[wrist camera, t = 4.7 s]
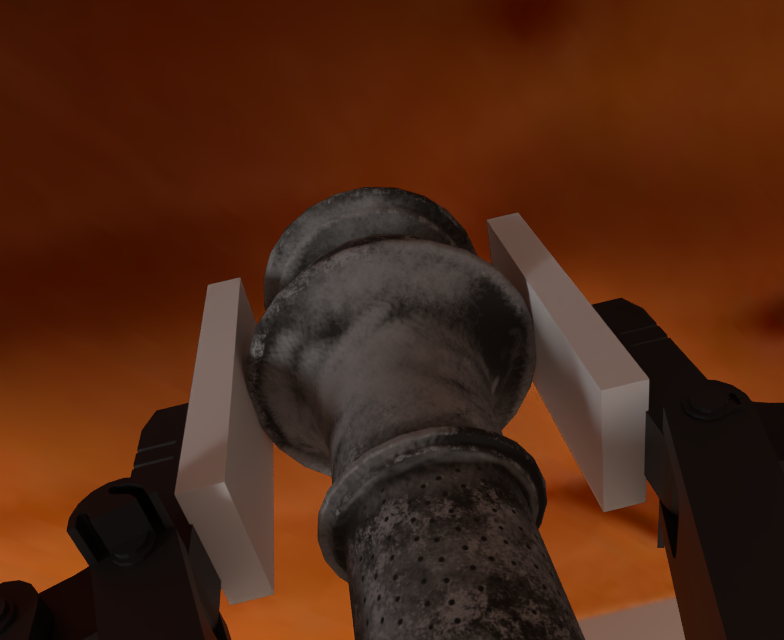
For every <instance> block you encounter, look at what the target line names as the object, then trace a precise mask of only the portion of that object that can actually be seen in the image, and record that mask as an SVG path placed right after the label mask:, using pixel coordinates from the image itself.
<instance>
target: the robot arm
mask: <svg viewBox="0 0 784 640" xmlns="http://www.w3.org/2000/svg"><path fill="white" fill-rule="evenodd" d="M487 229H488V237H489V246H490V254H491V263H492V265H493V266H495V267H497V268H498V269H499V270H500V271H501V272H502V274H503V275H504V276H505V277H506V278H507V279H508V280H509V281H510V282H511V283H512V285H513V286H514V287H515V288H516V289H517V290H518V291H519V292H520V293H521V295H522V297H523V299H524V302H525V304H526V306H527V308H528V311H529V313H530V315H531V317H532V320H533V324H534V333H535V345H536V365H535V370H534V374H533V379H532V381H533V383H534V385H535V387H536V388H537V390H538V392H539V394H540V396H541V398H542V399H543V401H544V403H545V405H546V407H547V409H548V411H549V412H550V414H551V416H552V418H553V420H554V422H555V423H556V425H557V427H558V429H559V431H560V433H561V434H562V436H563V438H564V440H565V442H566V444H567V446H568V447H569V449H570V451H571V453H572V455H573V457H574V458H575V460H576V462H577V464H578V466H579V468H580V470H581V471H582V473H583V475H584V477H585V479H586V481H587V482H588V484H589V486H590V488H591V490H592V492H593V493H594V495H595V497H596V499H597V501H598V503H599V505H600V506H601V508H602V510H603V512H606V511H610V510H614V509H619V508H623V507H627V506H631V505H635V504H639V503H643V502H646V478H647V480H648V482H649V483H650V485H651V486H652V488H653V489H654V491H655V492H656V494H657V495H658V497H659V499H660V500H659V523H658V546H657V548H664V545H665V549H666V553H667V558H668V563H669V567H670V572H671V576H672V581H673V585H674V590H675V594H676V599H677V603H678V608H679V612H680V616H681V621H682V626H683V631H684V635H685V639H686V640H784V403H763V402H753V401H751V400H750V399H749V397H748V396H747V395H746V394H745V393H744V392H742V391H741V390H739V389H737V388H736V387H734V386H733V385H730V384H727V383H723V382H720V381H717V380H707V378H706V377H705V376H704V375H703V374H702V373H701V372H700V371H699V370H698V368H697V367H696V366H695V365H694V364H693V363H692V362H691V361H690V360H689V359H688V357H687V356H686V355H685V354H684V353H683V352H682V351H681V350H680V349H679V348H678V346H677V345H676V344H675V343H674V342H673V341H672V340H671V339H670V338H669V339H668V337H667V334H666V333H665V332H664V331H663V330H662V329H661V328H660V327H659V326H657V325H656V322H655V321H654V320H653V319H652V318H651V317H650V316H649V315H648V313H647V312H646V311H645V310H644V309H643V308H641V307H639V306H637V305H635V304H633V303H631V302H629V301H627V300H625V299H623V298H618V299H614V300H610V301H606V302H601V303H597V304H593V305H591V304H590V303H589V302H588V301H587V299H586V298H585V297H584V295H583V294H582V293H581V292H580V290H579V289H578V288H577V287H576V285H575V284H574V283H573V281H572V280H571V279H570V278H569V276H568V275H567V274H566V273H565V271H564V270H563V269H562V268H561V266H560V265H559V264H558V262H557V261H556V260H555V259H554V257H553V256H552V255H551V254H550V252H549V251H548V250H547V248H546V247H545V246H544V245H543V243H542V242H541V241H540V240H539V238H538V237H537V236H536V235H535V233H534V232H533V231H532V229H531V228H530V227H529V226H528V224H527V223H526V222H525V221H524V219H523V218H522V217H521V215H520V214H519V213H513V214H509V215H505V216H501V217H496V218H492V219H488V220H487ZM256 326H257V324H256V321H255V318H254V315H253V313H252V310H251V307H250V304H249V301H248V298H247V295H246V292H245V289H244V287H243V284H242V281H241V278H235V279H231V280H227V281H223V282H218V283H214V284H210V285H208V287H207V294H206V300H205V306H204V312H203V319H202V325H201V331H200V337H199V344H198V350H197V356H196V362H195V369H194V375H193V381H192V387H191V394H190V400H189V403H186V404H182V405H178V406H174V407H169V408H165V409H161V410H157V411H156V412H155V413H154V415H153V416H152V417H151V419H150V420H149V421H148V423H147V424H146V425H145V427H144V428H143V429H142V432H141V436H140V440H139V445H138V449H137V450H138V453H137V454H136V457H135V461H134V465H133V466H134V470H132V474H131V478H122V479H119V480H116V481H112V482H109V483H107V484H105V485H103V486H101V487H100V488H98V489H96V490H94V491H93V492H91V493H90V494H89V495H88V496H87V497H86V498H85V499H83V500H82V501H81V502H80V503H79V504H78V505H77V507H76V508H75V510H74V511H73V513H72V514H71V516H70V517H69V521H68V526H67V532H68V534H69V536H70V537H71V539H72V540H73V542H74V543H75V545H76V546H77V548H78V549H79V551H80V552H81V554H82V555H83V557H84V558H85V560H86V561H87V563H88V565H89V566H88V567H87V568H86V569H84V570H82V571H81V572H79V573H77V574H76V575H74V576H72V577H70V578H68V579H66V580H64V581H62V582H60V583H58V584H56V585H54V586H53V587H51V588H49V589H47V590H45V591H43V592H41V593H39V594H38V592H37V591H36V590H35V588H34V587H33V586H32V584H30V583H27V582H23V581H20V580H18V581H10V582H3V583H1V584H0V640H231V637H230V634H229V631H228V627H227V625H226V623H225V621H224V619H223V617H222V615H221V614H220V612H219V605H220V591H221V587H222V589H223V591H224V593H225V595H226V597H227V599H228V601H229V603H230V605H233V604H237V603H241V602H245V601H249V600H253V599H257V598H261V597H265V596H269V595H273V594H274V506H273V441H272V439H271V438H270V437H269V436H268V435H267V433H266V432H265V431H264V430H263V428H262V427H261V425H260V422H259V420H258V417H257V414H256V412H255V409H254V407H253V404H252V401H251V399H250V396H249V393H248V389H247V366H246V360H247V356H248V353H249V349H250V346H251V342H252V339H253V335H254V332H255V328H256Z"/></svg>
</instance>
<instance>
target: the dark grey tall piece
mask: <svg viewBox="0 0 784 640" xmlns="http://www.w3.org/2000/svg"><path fill="white" fill-rule="evenodd" d="M264 307H265V310H266V312H265V314H264V315H263V317H262V318H261V320H260V321H259V323H258V324H257V326H256V328H255V332H254V335H253V339H252V342H251V346H250V349H249V353H248V356H247V360H246V366H247V389H248V393H249V396H250V399H251V401H252V404H253V407H254V409H255V412H256V414H257V417H258V420H259V422H260V425H261V427H262V428H263V430H264V431H265V432H266V433H267V435H268V436H269V437H270V438H271V439H272V441H273V442H274V443H275V444H276V446H277V447H278V448H279V449H280V450H282V451H283V452H285V453H286V454H288V455H289V456H290V457H292V458H293V459H295V460H296V461H298V462H299V463H300V464H302V465H303V466H305V467H307V468H310V469H313V470H315V471H318V472H320V473H323V474H326V475H328V476H331V477H332V484H333V485H332V486H331V487H330V488H329V490H328V491H327V493H326V496H325V498H324V501H323V504H322V506H321V509H320V511H319V514H318V542H319V545H320V548H321V551H322V553H323V556H324V559H325V561H326V562H327V563H328V565H329V566H330V567H331V568H332V569H333V570H334V572H335V573H336V574H337V575H338V576H339V577H340V578H342V579H343V580H345V581H346V582H348V583H349V592H350V600H351V609H352V618H353V627H354V635H355V640H585V638H584V636H583V634H582V631H581V629H580V627H579V624H578V622H577V620H576V617H575V615H574V612H573V610H572V608H571V605H570V603H569V601H568V598H567V596H566V594H565V591H564V589H563V587H562V584H561V582H560V580H559V577H558V575H557V572H556V570H555V568H554V565H553V563H552V561H551V558H550V556H549V554H548V551H547V549H546V547H545V544H544V542H543V540H542V537H541V535H540V532H539V530H538V529H539V527H540V525H541V523H542V519H543V516H544V512H545V508H546V505H547V497H546V484H545V480H544V478H543V476H542V474H541V472H540V470H539V468H538V466H537V464H536V462H535V460H534V458H533V457H532V456H531V455H530V454H529V453H528V452H527V451H526V450H525V449H523V448H522V447H521V446H520V445H519V444H518V443H517V442H515V441H513V440H511V439H509V438H507V437H505V436H503V434H502V432H501V430H502V429H503V428H504V427H505V426H506V425H507V424H508V423H509V421H510V420H511V419H512V418H513V417H514V416H515V415H516V413H517V411H518V409H519V408H520V406H521V404H522V402H523V400H524V398H525V396H526V394H527V392H528V391H529V389H530V387H531V383H532V379H533V374H534V370H535V365H536V345H535V333H534V324H533V320H532V317H531V315H530V313H529V311H528V308H527V306H526V304H525V302H524V299H523V297H522V295H521V293H520V292H519V291H518V290H517V289H516V288H515V287H514V286H513V285H512V283H511V282H510V281H509V280H508V279H507V278H506V277H505V276H504V275H503V274H502V272H501V271H500V270H499V269H498V268H497V267H495V266H493V265H491V264H490V263H488V262H486V261H485V260H483V259H481V258H480V257H478V256H477V254H476V252H475V250H474V247H473V245H472V243H471V241H470V239H469V237H468V235H467V232H466V231H465V229H464V228H463V227H462V226H461V225H460V224H459V223H458V221H457V220H456V219H455V218H454V217H453V216H452V215H451V214H450V213H449V212H448V210H446V209H445V208H443V207H441V206H440V205H438V204H436V203H435V202H433V201H431V200H430V199H428V198H426V197H425V196H423V195H419V194H416V193H412V192H409V191H405V190H402V189H398V188H381V187H364V188H360V189H355V190H351V191H347V192H343V193H338V194H335V195H333V196H331V197H329V198H327V199H325V200H323V201H321V202H319V203H317V204H315V205H314V206H312V207H310V208H308V209H307V210H306V211H304V212H303V213H302V214H301V215H300V216H299V217H298V218H297V219H296V220H295V221H294V222H292V223H291V224H290V225H289V226H288V227H287V228H286V229H285V231H284V232H283V234H282V235H281V237H280V239H279V240H278V242H277V243H276V245H275V247H274V248H273V250H272V251H271V254H270V257H269V261H268V264H267V268H266V271H265V275H264Z"/></svg>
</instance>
